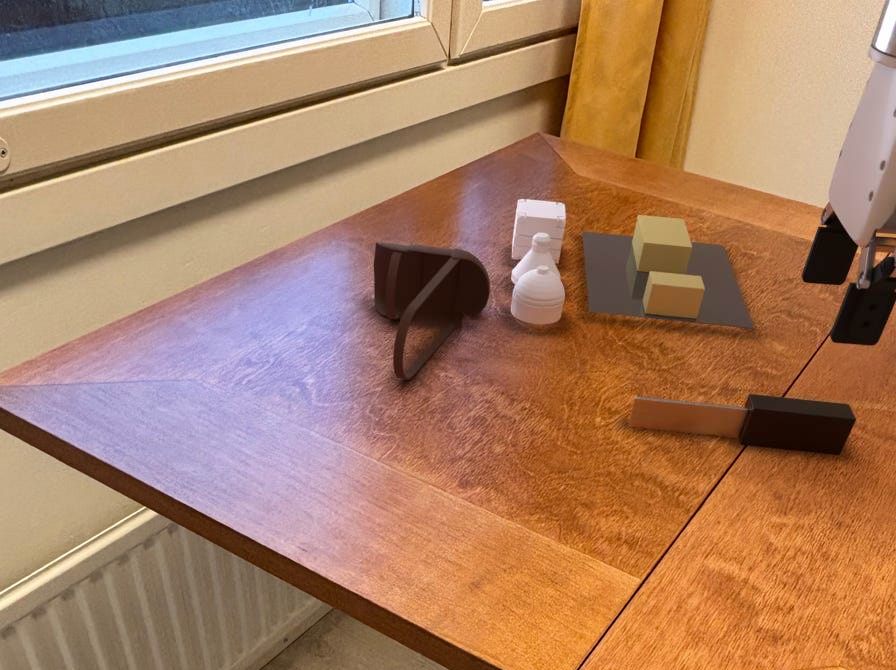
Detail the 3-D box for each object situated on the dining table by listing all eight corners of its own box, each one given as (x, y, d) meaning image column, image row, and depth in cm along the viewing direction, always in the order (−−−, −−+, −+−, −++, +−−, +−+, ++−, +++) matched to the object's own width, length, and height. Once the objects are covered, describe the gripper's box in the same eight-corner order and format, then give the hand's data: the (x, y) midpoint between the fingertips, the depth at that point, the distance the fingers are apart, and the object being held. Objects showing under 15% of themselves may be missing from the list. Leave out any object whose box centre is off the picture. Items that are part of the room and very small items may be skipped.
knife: (832, 441, 74) (849, 403, 71) (839, 457, 72) (856, 419, 69) (626, 419, 74) (636, 381, 72) (628, 435, 72) (639, 396, 70)
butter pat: (692, 305, 88) (701, 275, 86) (696, 319, 86) (705, 288, 84) (642, 300, 89) (649, 270, 87) (644, 314, 86) (652, 283, 84)
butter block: (676, 246, 99) (684, 218, 97) (684, 276, 94) (692, 247, 92) (631, 242, 99) (638, 214, 97) (637, 271, 94) (644, 242, 92)
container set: (509, 249, 98) (516, 197, 95) (557, 254, 98) (566, 202, 94) (506, 331, 84) (514, 274, 80) (562, 337, 84) (572, 279, 80)
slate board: (720, 253, 101) (723, 244, 101) (751, 338, 86) (754, 328, 86) (580, 239, 102) (582, 230, 101) (586, 321, 87) (588, 311, 86)
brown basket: (373, 297, 88) (375, 225, 83) (489, 313, 87) (498, 241, 82) (327, 386, 75) (326, 307, 70) (463, 406, 74) (471, 327, 69)
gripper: (1066, 76, 47) (923, 374, 59) (959, 8, 59) (859, 266, 71) (921, 67, 47) (808, 364, 59) (844, 1, 59) (764, 259, 71)
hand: (836, 310), depth 65 cm, fingers open, 9 cm apart
